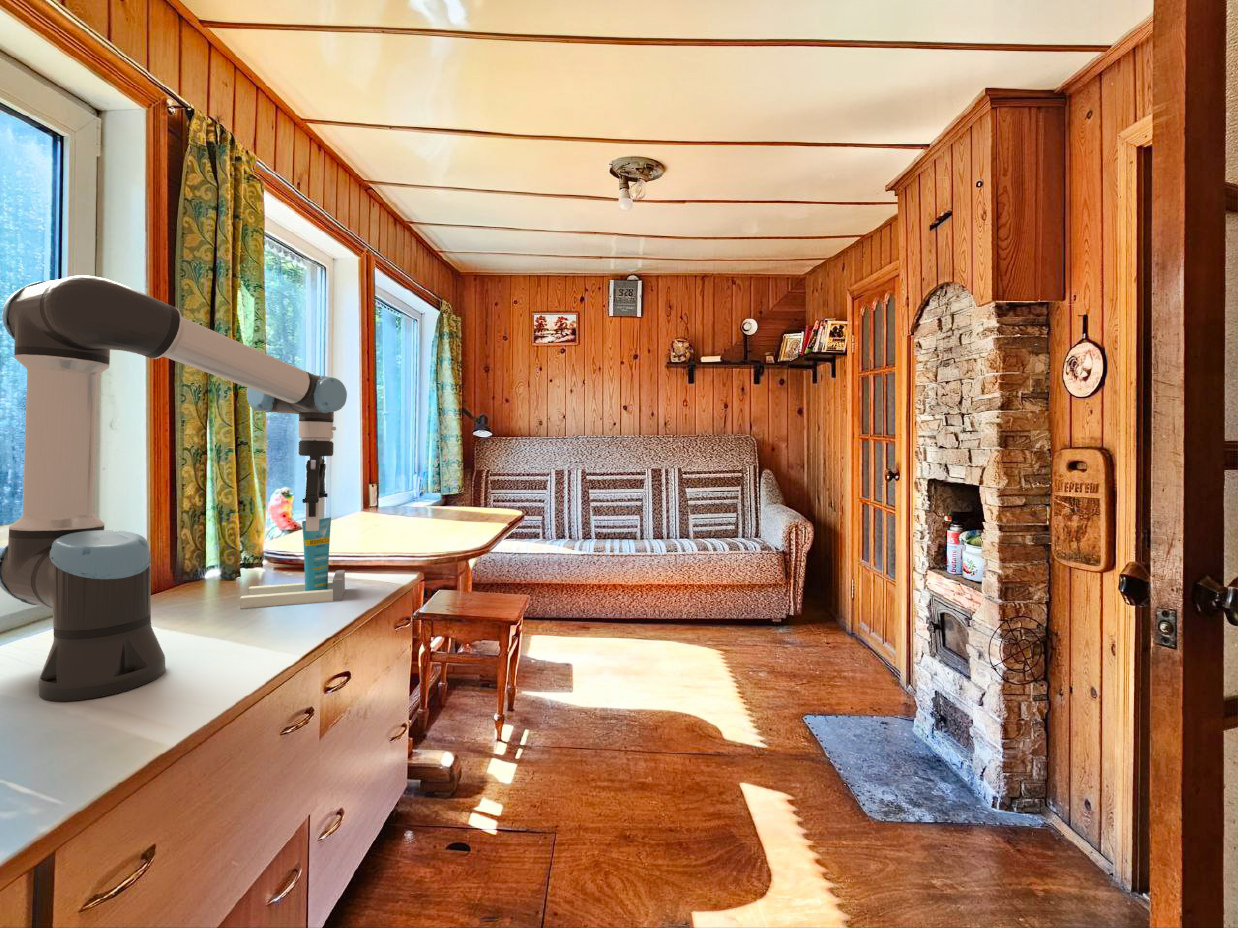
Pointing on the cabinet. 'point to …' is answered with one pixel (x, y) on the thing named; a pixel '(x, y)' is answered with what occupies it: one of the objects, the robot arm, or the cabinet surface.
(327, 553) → the tube
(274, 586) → the track
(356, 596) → the cabinet surface
